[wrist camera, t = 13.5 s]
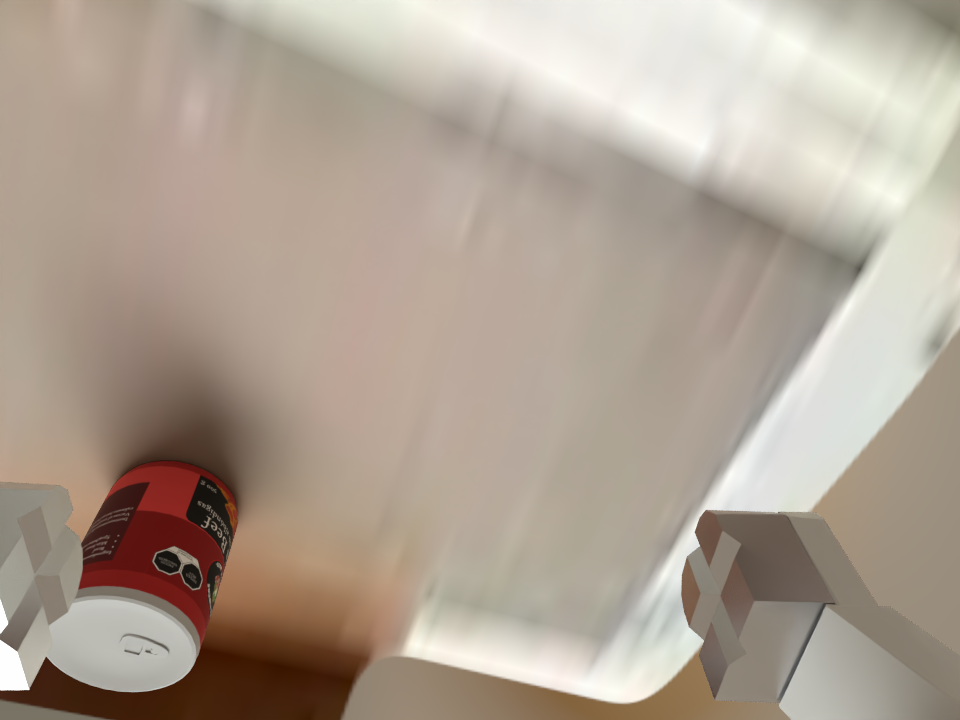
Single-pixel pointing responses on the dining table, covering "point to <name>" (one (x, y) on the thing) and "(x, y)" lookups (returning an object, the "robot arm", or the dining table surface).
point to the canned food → (147, 579)
